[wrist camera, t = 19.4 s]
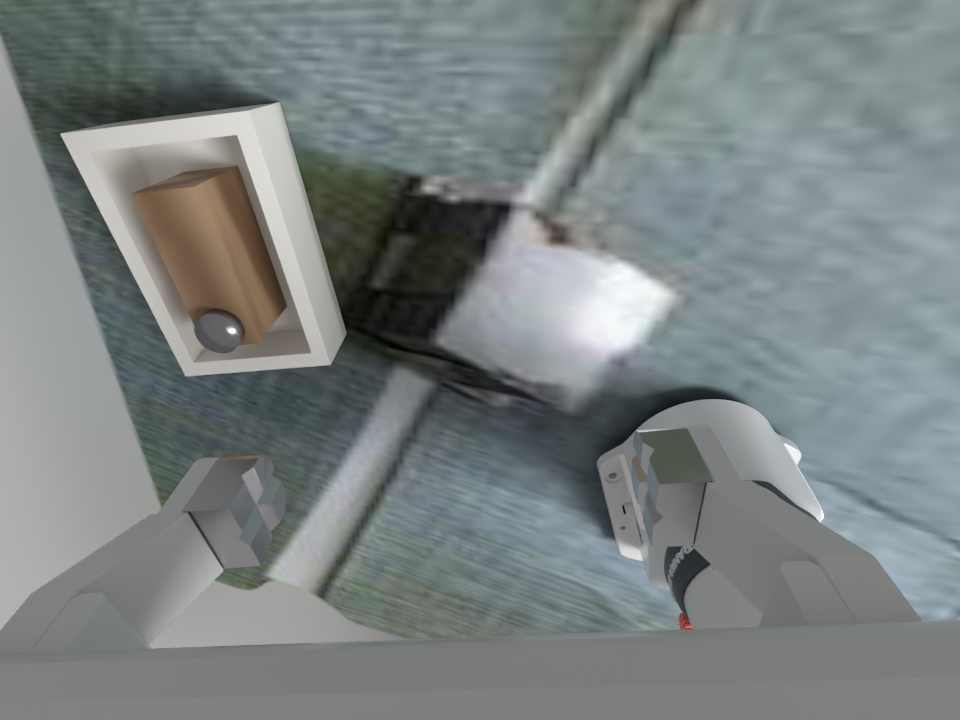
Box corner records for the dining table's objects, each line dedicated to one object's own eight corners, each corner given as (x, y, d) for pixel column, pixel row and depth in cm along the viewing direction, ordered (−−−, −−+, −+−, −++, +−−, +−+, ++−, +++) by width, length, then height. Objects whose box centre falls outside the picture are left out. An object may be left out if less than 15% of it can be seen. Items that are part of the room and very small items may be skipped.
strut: (237, 165, 35) (185, 190, 29) (287, 306, 41) (252, 351, 35) (183, 171, 35) (121, 197, 29) (240, 310, 41) (198, 355, 35)
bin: (346, 333, 43) (330, 364, 39) (215, 344, 44) (185, 376, 40) (279, 102, 33) (248, 110, 29) (113, 122, 34) (59, 133, 30)
